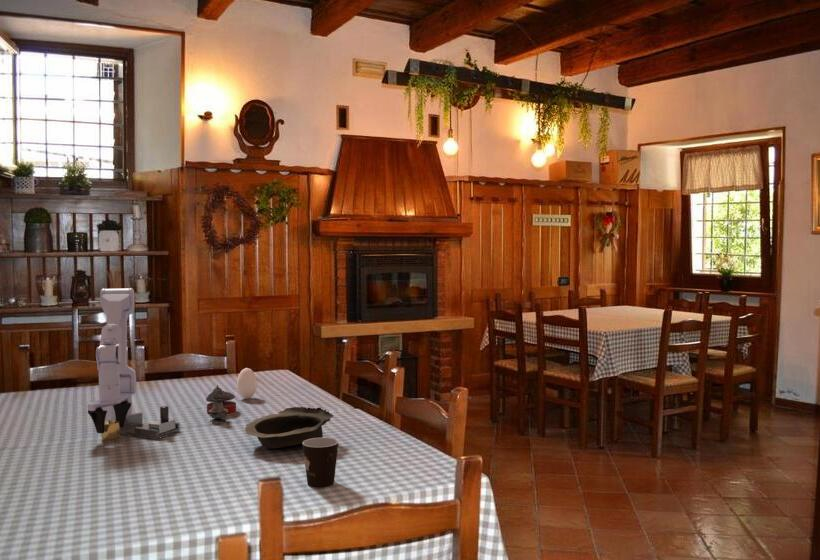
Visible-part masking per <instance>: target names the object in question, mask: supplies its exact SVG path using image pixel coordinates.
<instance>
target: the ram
mask: <svg viewBox="0 0 820 560" xmlns="http://www.w3.org/2000/svg"><path fill="white" fill-rule="evenodd" d="M169 409H170V408H169V406H167V405H163V406H160V409H159V413H160V415H159V417H160V419H158V420H155V421H152V422H149V423H148V424H149V429H155V430H159V434H160V433H163V432H166V431H169V430H172V429H175V422H176V419H175V418H170V417H169V416H170V415H169Z"/></svg>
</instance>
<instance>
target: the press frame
mask: <svg viewBox="0 0 820 560" xmlns="http://www.w3.org/2000/svg"><path fill="white" fill-rule="evenodd" d="M115 421H116V419H115ZM180 427H181V426H180V422H176V421H175V429H172V430H169V431H166V432H163V433H160V434H159V430H155V429H149V423H144V422H143V412H137V413H132V415H129V416H126V418H125V422H124V426H123V427H119V430H120V434H121V435H120V436H128V435H130V436H129V437H136V436H138V438H144V437H147V438H146V439H152V438H154V439H153V440H158V438H159V439H161V438H164V437H166V435H167V436H170V435H172V433H173V434H175V432H176V433H178V431H179V432H180V431H181V430H180ZM169 434H170V435H169ZM163 436H164V437H163ZM160 437H161V438H160Z"/></svg>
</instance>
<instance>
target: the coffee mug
mask: <svg viewBox="0 0 820 560" xmlns="http://www.w3.org/2000/svg"><path fill="white" fill-rule="evenodd" d="M301 444H302V445H301V446H302V452H303V460H304V466H305V473H306V482H307V486H309V487H311V488H316V489H318V488H319V489H322V488H329V487H331V486H333V485H334V484H335V478H336V469H337V468H336V467H337V458H338V450H339V449H338V447H339V440H338V439H336V438H333V437H323V438H312V439H308V440H305V441H303V443H301Z"/></svg>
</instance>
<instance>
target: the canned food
mask: <svg viewBox="0 0 820 560" xmlns="http://www.w3.org/2000/svg"><path fill="white" fill-rule="evenodd" d="M222 398H223V400H222V405H223V408H224V409H227V411H226V414H225V416H228V415H227V414H229V415H233V414H235V413H236V412H237V402H235V401H232V400H234V399H235V398H236V396H235V395H234V393H231V392H228V391H225V390H222ZM212 399H213V391H212V392H210V393H209V394H208V396H206V398H205V401H206V402H209V403H207V404H206V414H207V415H209V414H210V412H209V410H211V409H212V408H213V400H212ZM232 413H233V414H232Z"/></svg>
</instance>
